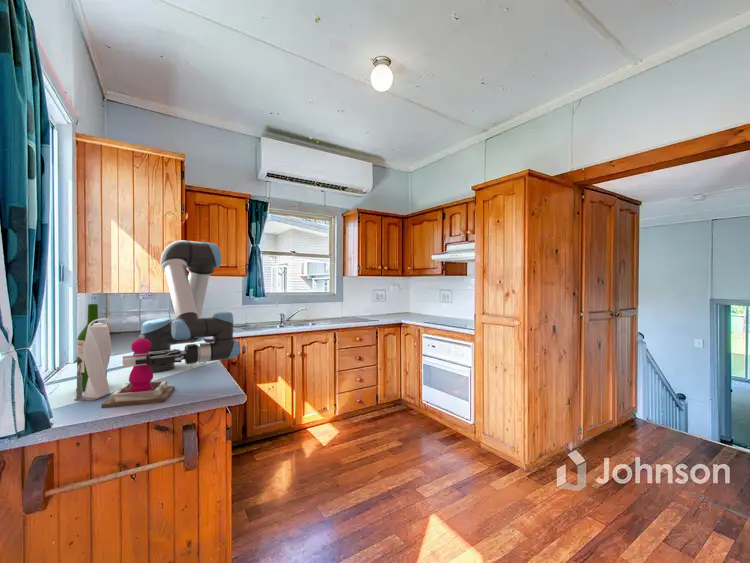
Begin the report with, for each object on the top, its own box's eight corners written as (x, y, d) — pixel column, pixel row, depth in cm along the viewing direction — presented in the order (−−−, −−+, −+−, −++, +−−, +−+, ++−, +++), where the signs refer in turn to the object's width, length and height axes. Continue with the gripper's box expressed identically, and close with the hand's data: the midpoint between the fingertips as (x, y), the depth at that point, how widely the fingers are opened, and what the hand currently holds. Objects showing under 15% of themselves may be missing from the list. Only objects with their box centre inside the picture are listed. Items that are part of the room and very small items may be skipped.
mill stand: (119, 393, 125) (119, 383, 125) (174, 388, 131) (174, 379, 131) (101, 407, 111) (101, 396, 111) (163, 402, 117) (163, 391, 117)
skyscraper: (95, 392, 126) (96, 317, 125) (116, 392, 125) (117, 318, 125) (74, 400, 117) (75, 320, 117) (97, 401, 117) (97, 320, 117)
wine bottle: (71, 389, 128) (72, 304, 128) (97, 383, 136) (98, 303, 136) (86, 392, 125) (87, 305, 125) (112, 385, 133) (113, 304, 133)
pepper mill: (140, 394, 117) (141, 336, 117) (123, 392, 118) (123, 335, 118) (157, 387, 124) (158, 333, 124) (141, 386, 125) (142, 332, 125)
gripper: (201, 367, 125) (123, 378, 111) (192, 358, 139) (122, 366, 125) (202, 347, 125) (124, 355, 111) (192, 340, 139) (122, 346, 125)
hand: (123, 361), depth 118 cm, fingers closed on pepper mill, 5 cm apart
